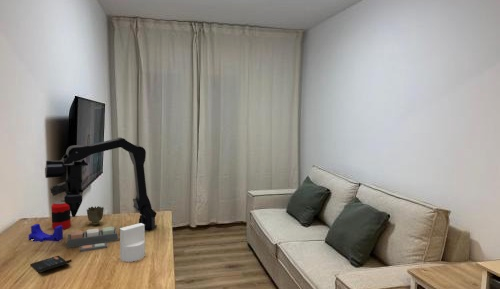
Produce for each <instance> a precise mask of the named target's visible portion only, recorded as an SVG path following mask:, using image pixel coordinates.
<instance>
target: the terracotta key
mask: <svg viewBox="0 0 500 289" xmlns="http://www.w3.org/2000/svg"><path fill="white" fill-rule="evenodd" d="M83 232H84V231H83V230H75V231H73V230H72V231H70V234H71V239H76V238H83Z"/></svg>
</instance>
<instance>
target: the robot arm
mask: <svg viewBox="0 0 500 289" xmlns="http://www.w3.org/2000/svg"><path fill="white" fill-rule="evenodd" d="M119 148H122V149H123V150H124V151H126V152H128V154H129V159H130V160H131V163H132V165H133V172H134V180H135V187H136V188H135V190H136V196H135V198H132V201H133V208H134V209H135V210H136V212H138V213H139V214H140V215H139V219H138V224H139V223H142V224H144V225H145V231H147V232H151V231H152V230H154V229H156V228H157V227H158V226H157V225H156V217H157V212H156V211H155V210H154V209H152V208H153V207H152V203H151V201H150V198H149V196H148V192H147V184H146V175H145V166H144V165H145V162H146V155H147V151H146V148H144V147H143V146H140V145H137V144H133V143H132V142H130V141H128V140H127V139H125V138H123V137H117V138H114V139H109V140H104V141H100V142H95V143H91V144H76V145H75V144H73V145H70V146H68V147H67V149H66V152H65V154H64V155H63V157H61V159H60V160H45V167H44V176H45V179H49V178H50V179H51V178H63V176H65V175H66V179H65V181H64V182H61V183H58V184H55V185H52V186H50V188H49V190H50V193H51V194H52V196H53V197H54V196H57V195H58V194H62V193H64V192H65V195H64V198H63V201H64V202H65V203H66V204H68V205H69V207H70V214H71V217H72V218H75V217H76V216H77V213H78V211H79V209H80V207H81V205H82V204H83V203H82V202H83V194H84V193H83V192H84V186H83V172H84V171H83V170H84V169H83V167H85V166H89V164H88V163H87V162H86V160H85V159H86V158H89V156H92V155H94V154H98V153H102V152H106V151H111V150H113V149H119ZM156 226H157V227H156Z"/></svg>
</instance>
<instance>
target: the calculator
mask: <svg viewBox="0 0 500 289" xmlns="http://www.w3.org/2000/svg"><path fill="white" fill-rule="evenodd" d="M70 263H72V259H67V260H66V259H64V258H63V257H62V256H60V255H55V256H52V257H47V258H46V259H42V260H39V261H35V262H32V263H30V264H29V265H30V267H31V268H32V269H34V271H35V272H37V273H38V274H40V273H43V272H46V271H48V270H52V269H56V268H58V267H62V266H64V265H68V264H70Z"/></svg>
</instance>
